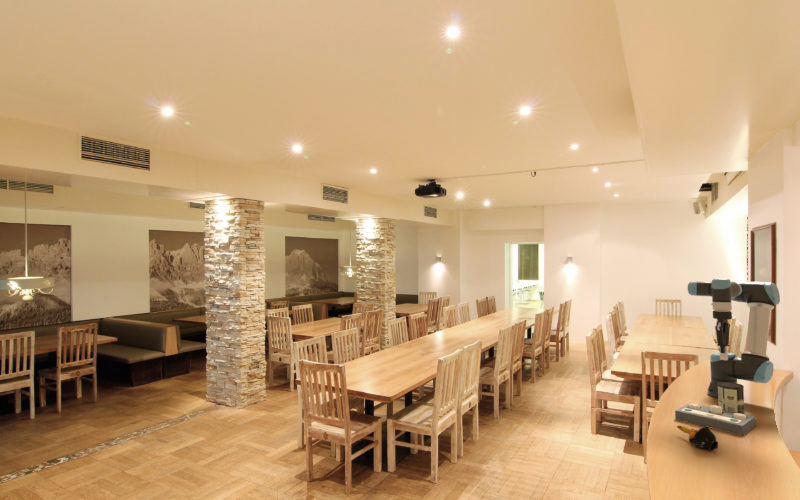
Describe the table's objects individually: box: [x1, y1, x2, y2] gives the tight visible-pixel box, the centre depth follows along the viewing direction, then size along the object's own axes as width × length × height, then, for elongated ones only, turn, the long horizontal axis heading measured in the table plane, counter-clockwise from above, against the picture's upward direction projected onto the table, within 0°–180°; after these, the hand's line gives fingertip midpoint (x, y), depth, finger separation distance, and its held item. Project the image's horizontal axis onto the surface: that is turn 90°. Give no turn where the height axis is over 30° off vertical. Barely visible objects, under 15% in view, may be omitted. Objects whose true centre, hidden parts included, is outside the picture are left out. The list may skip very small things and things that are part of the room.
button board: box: [674, 402, 757, 436], centre depth 204 cm, size 18×26×4 cm
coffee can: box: [717, 382, 746, 414], centre depth 215 cm, size 10×10×14 cm
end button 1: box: [688, 403, 701, 410], centre depth 213 cm, size 4×4×5 cm
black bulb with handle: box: [676, 425, 719, 451], centre depth 181 cm, size 9×11×18 cm
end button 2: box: [734, 413, 747, 420], centre depth 199 cm, size 4×4×5 cm
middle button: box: [709, 404, 722, 415], centre depth 206 cm, size 4×4×5 cm
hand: (723, 359), depth 214 cm, fingers closed
